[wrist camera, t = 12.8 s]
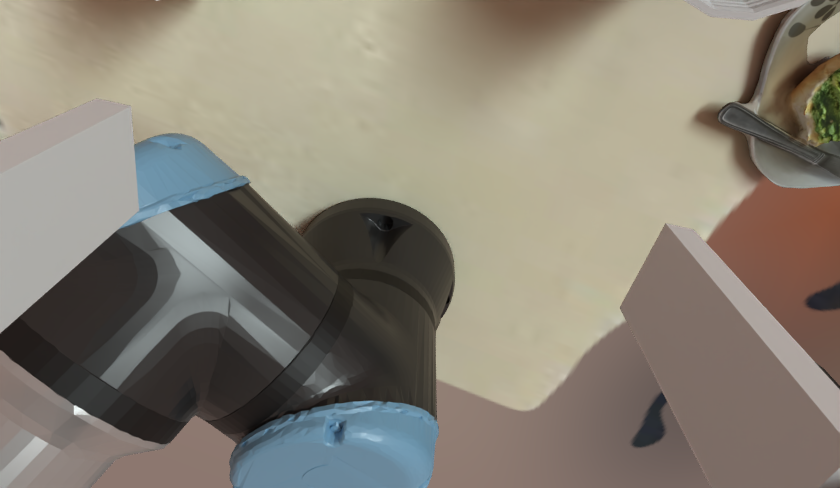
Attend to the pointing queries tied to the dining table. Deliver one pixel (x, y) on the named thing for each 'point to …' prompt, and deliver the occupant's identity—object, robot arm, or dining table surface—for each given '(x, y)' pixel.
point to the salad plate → (794, 106)
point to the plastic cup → (744, 7)
